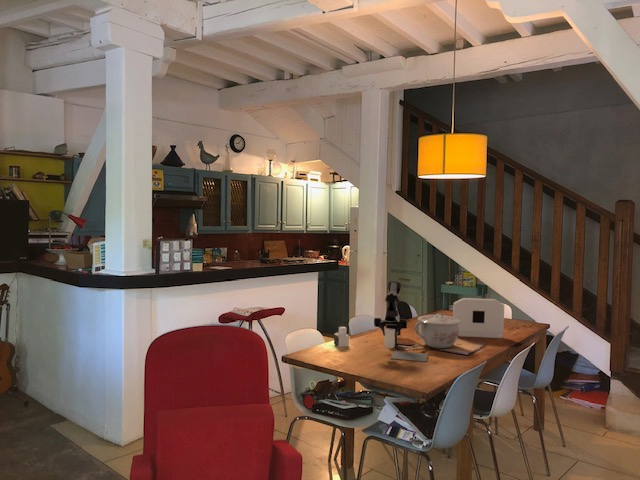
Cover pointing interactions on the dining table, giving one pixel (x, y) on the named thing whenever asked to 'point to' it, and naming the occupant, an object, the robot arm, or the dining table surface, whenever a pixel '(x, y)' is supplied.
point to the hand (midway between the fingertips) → (389, 335)
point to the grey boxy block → (479, 317)
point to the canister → (389, 338)
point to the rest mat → (409, 356)
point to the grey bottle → (341, 337)
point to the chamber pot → (438, 330)
